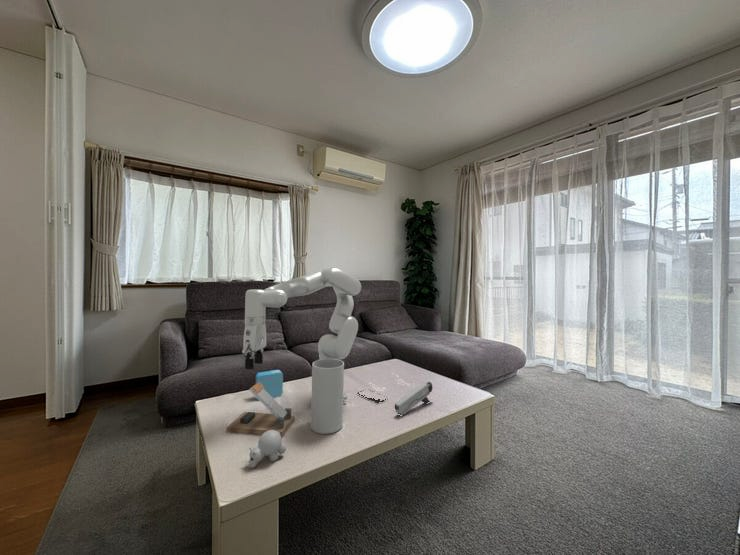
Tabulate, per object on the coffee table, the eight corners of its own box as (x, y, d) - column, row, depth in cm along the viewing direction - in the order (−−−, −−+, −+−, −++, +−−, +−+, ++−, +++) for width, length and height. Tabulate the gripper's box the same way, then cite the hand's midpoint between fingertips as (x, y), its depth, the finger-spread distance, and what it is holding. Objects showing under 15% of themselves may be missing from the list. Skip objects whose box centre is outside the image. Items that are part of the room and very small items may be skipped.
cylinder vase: (314, 417, 117) (316, 358, 117) (344, 418, 117) (345, 359, 117) (307, 434, 104) (308, 367, 105) (340, 435, 104) (341, 369, 104)
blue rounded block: (280, 392, 141) (280, 369, 141) (282, 396, 137) (283, 371, 137) (255, 397, 135) (255, 372, 135) (256, 401, 131) (257, 375, 131)
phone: (367, 389, 147) (388, 398, 136) (367, 391, 147) (388, 400, 136) (356, 393, 141) (377, 402, 131) (356, 395, 141) (377, 405, 131)
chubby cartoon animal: (246, 469, 89) (236, 448, 86) (279, 441, 96) (271, 421, 94) (256, 481, 83) (245, 459, 81) (290, 450, 91) (281, 429, 89)
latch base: (294, 420, 114) (295, 406, 114) (282, 437, 102) (282, 421, 102) (244, 416, 116) (244, 402, 116) (226, 432, 104) (226, 416, 104)
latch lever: (286, 414, 111) (289, 410, 111) (280, 421, 106) (283, 417, 106) (255, 384, 112) (258, 381, 112) (248, 390, 107) (252, 386, 107)
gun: (435, 399, 135) (432, 380, 134) (400, 427, 119) (397, 406, 118) (430, 397, 137) (428, 378, 136) (396, 425, 121) (393, 404, 120)
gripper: (252, 324, 101) (251, 374, 101) (274, 318, 118) (273, 360, 118) (233, 323, 102) (231, 372, 102) (257, 317, 119) (256, 359, 119)
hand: (254, 365), depth 110 cm, fingers open, 6 cm apart
